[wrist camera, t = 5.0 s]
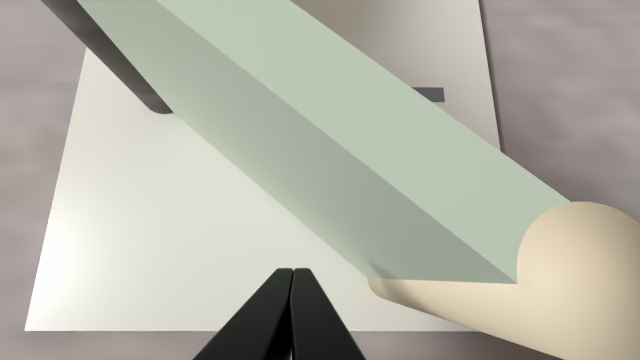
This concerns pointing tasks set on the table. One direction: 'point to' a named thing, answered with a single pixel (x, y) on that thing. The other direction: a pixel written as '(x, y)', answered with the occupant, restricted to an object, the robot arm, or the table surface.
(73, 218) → the board
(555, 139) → the table surface
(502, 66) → the table surface
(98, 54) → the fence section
